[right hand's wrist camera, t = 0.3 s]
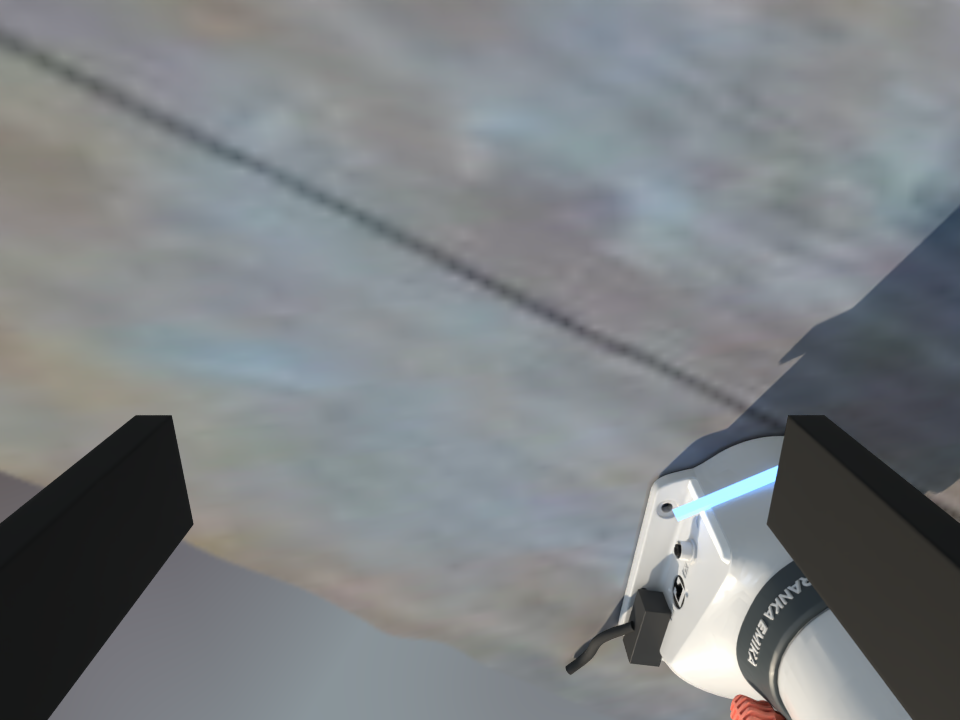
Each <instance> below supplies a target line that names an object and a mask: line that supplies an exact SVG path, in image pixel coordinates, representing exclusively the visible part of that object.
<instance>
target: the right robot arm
mask: <svg viewBox="0 0 960 720" xmlns="http://www.w3.org/2000/svg"><path fill="white" fill-rule="evenodd" d="M192 526H193V519H192V514H191V509H190V504H189V499H188V494H187V489H186V484H185V479H184V474H183V469H182V464H181V459H180V454H179V449H178V444H177V439H176V434H175V429H174V424H173V419H172V415H136V416H134V417H133V418H132V419H131V420H129V421H128V422H127V423H126V424H124V425H123V426H122V427H121V428H119V429H118V430H117V431H116V432H114V433H113V434H112V435H111V436H109V437H108V438H107V439H105V440H104V441H103V442H102V443H100V444H99V445H98V446H97V447H95V448H94V449H93V450H92V451H90V452H89V453H88V454H87V455H85V456H84V457H83V458H82V459H80V460H79V461H78V462H77V463H75V464H74V465H73V466H72V467H70V468H69V469H68V470H67V471H65V472H64V473H63V474H62V475H60V476H59V477H58V478H57V479H55V480H54V481H53V482H52V483H50V484H49V485H48V486H47V487H45V488H44V489H43V490H42V491H40V492H39V493H38V494H37V495H35V496H34V497H33V498H32V499H30V500H29V501H28V502H27V503H25V504H24V505H23V506H22V507H20V508H19V509H18V510H17V511H15V512H14V513H13V514H12V515H10V516H9V517H8V518H7V519H5V520H4V521H3V522H1V523H0V720H48V718H49V717H50V716H51V714H52V713H53V712H54V710H55V709H56V708H57V706H58V705H59V704H60V702H61V701H62V700H63V698H64V697H65V696H66V694H67V693H68V692H69V690H70V689H71V688H72V686H73V685H74V684H75V682H76V681H77V680H78V678H79V677H80V676H81V674H82V673H83V672H84V670H85V669H86V668H87V666H88V665H89V664H90V662H91V661H92V660H93V658H94V657H95V656H96V654H97V653H98V652H99V650H100V649H101V647H102V646H103V645H104V643H105V642H106V641H107V639H108V638H109V637H110V635H111V634H112V633H113V631H114V630H115V629H116V627H117V626H118V625H119V623H120V622H121V621H122V619H123V618H124V617H125V615H126V614H127V613H128V611H129V610H130V609H131V607H132V606H133V605H134V603H135V602H136V601H137V599H138V598H139V597H140V595H141V594H142V593H143V591H144V590H145V589H146V587H147V586H148V585H149V583H150V582H151V581H152V579H153V578H154V577H155V575H156V574H157V572H158V571H159V570H160V569H161V567H162V566H163V564H164V563H165V562H166V560H167V559H168V558H169V556H170V555H171V554H172V552H173V551H174V550H175V548H176V547H177V546H178V544H179V543H180V542H181V540H182V539H183V538H184V536H185V535H186V534H187V532H188V531H189V530H190V528H191V527H192ZM767 526H768V527H769V528H770V530H771V531H772V532H773V534H774V535H775V536H776V538H777V539H778V540H779V542H780V543H781V544H782V546H783V547H784V548H785V550H786V551H787V552H788V554H789V555H790V556H791V558H792V559H793V560H794V562H795V563H796V564H797V566H798V567H799V569H800V570H801V571H802V573H803V574H804V575H805V577H806V578H807V579H808V581H809V582H810V583H811V585H812V586H813V587H814V589H815V590H816V591H817V593H818V594H819V595H820V597H821V598H822V599H823V601H824V602H825V603H826V605H827V606H828V607H829V609H830V610H831V611H832V613H833V614H834V615H835V617H836V618H837V619H838V621H839V622H840V623H841V625H842V626H843V627H844V629H845V630H846V631H847V633H848V634H849V635H850V637H851V638H852V639H853V641H854V642H855V644H856V645H857V646H858V648H859V649H860V650H861V652H862V653H863V654H864V656H865V657H866V658H867V660H868V661H869V662H870V664H871V665H872V666H873V668H874V669H875V670H876V672H877V673H878V674H879V676H880V677H881V678H882V680H883V681H884V682H885V684H886V685H887V686H888V688H889V689H890V690H891V692H892V693H893V694H894V696H895V697H896V698H897V700H898V701H899V702H900V704H901V705H902V706H903V708H904V709H905V710H906V712H907V713H908V714H909V716H910V717H911V719H912V720H960V523H959V522H957V521H956V520H955V519H954V518H952V517H951V516H950V515H948V514H947V513H946V512H945V511H943V510H942V509H941V508H940V507H938V506H937V505H936V504H935V503H933V502H932V501H931V500H930V499H928V498H927V497H926V496H925V495H923V494H922V493H921V492H920V491H918V490H917V489H916V488H915V487H913V486H912V485H911V484H910V483H908V482H907V481H906V480H905V479H903V478H902V477H901V476H900V475H898V474H897V473H896V472H895V471H893V470H892V469H891V468H890V467H888V466H887V465H886V464H885V463H883V462H882V461H881V460H880V459H878V458H877V457H876V456H875V455H873V454H872V453H871V452H870V451H868V450H867V449H866V448H865V447H863V446H862V445H861V444H860V443H858V442H857V441H856V440H855V439H853V438H852V437H851V436H849V435H848V434H847V433H846V432H844V431H843V430H842V429H841V428H839V427H838V426H837V425H836V424H834V423H833V422H832V421H831V420H829V419H828V418H827V417H826V416H824V415H788V419H787V424H786V429H785V434H784V439H783V444H782V449H781V454H780V459H779V464H778V469H777V474H776V479H775V484H774V489H773V494H772V499H771V504H770V509H769V514H768V519H767Z"/></svg>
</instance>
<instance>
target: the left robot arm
mask: <svg viewBox="0 0 960 720" xmlns="http://www.w3.org/2000/svg"><path fill="white" fill-rule="evenodd" d="M783 439H784V436H770V437H762V438H757V439H752V440H749V441H745V442H742V443H739V444H737V445H734V446H732V447H730V448H728V449H726V450H724V451H722V452H720V453H718V454H717V455H715V456H713V457H712V458H710V459H709V460H707V461H706V462H704V463H702V464H700V465H699V466H697V467H694V468H692V469H687V470H683V471H678V472H674V473H671V474H668V475H665V476H663V477H660V478H659V479H657V480H656V481H655V482H654V484H653V485H652V488H651V491H650V495H649V499H648V503H647V507H646V511H645V515H644V519H643V523H642V527H641V531H640V535H639V539H638V544H637V548H636V552H635V556H634V560H633V564H632V568H631V572H630V576H629V580H628V584H627V588H626V592H625V596H624V600H623V604H622V608H621V612H620V616H619V623H618V624H619V626H616V627H613V628H610V629H608V630H606V631H604V632H602V633H600V634H599V635H597V636H596V637H595V638H594V639H593V640H592V641H591V643H590V644H589V646H588V648H587V649H586V651H585V652H584V653H583V654H582V655H581V656H579V657H578V658H577V659H575V660H574V661H573V662H571V663H570V664H568V665H567V666H566V671H567V672H568V673H569V674H570V675H571V674H573V673H574V672H575V671H577V670H578V669H580V668H581V667H582V666H584V665H585V664H586V663H587V662H589V661H590V660H591V659H592V658H593V657H594V655H595V654H596V652H597V650H598V649H599V647H600V646H601V645H602V644H603V643H605V642H607V641H609V640H611V639H613V638H616V637H619V636H622V635H624V637H623V642H624V645H625V649H626V652H627V656H628V659H629V663H631V664H640V665H649V666H658V667H659V665H660V662H661V660H662V661H665V662H666V664H667V665H668V666H669V667H670V669H671V670H672V671H673V672H674V673H675V674H676V675H678V676H679V677H680V678H681V679H683V680H684V681H686V682H687V683H689V684H691V685H693V686H695V687H697V688H699V689H702V690H704V691H706V692H709V693H712V694H715V695H718V696H722V697H726V698H730V699H733V701H732V704H731V710H732V712H731V719H733V720H912V719H911V717H910V716H909V714H908V713H907V712H906V710H905V709H904V708H903V706H902V705H901V704H900V702H899V701H898V700H897V698H896V697H895V696H894V694H893V693H892V692H891V690H890V689H889V688H888V686H887V685H886V684H885V682H884V681H883V680H882V678H881V677H880V676H879V674H878V673H877V672H876V670H875V669H874V668H873V666H872V665H871V664H870V662H869V661H868V660H867V658H866V657H865V656H864V654H863V653H862V652H861V650H860V649H859V648H858V646H857V645H856V644H855V642H854V641H853V639H852V638H851V637H850V635H849V634H848V633H847V631H846V630H845V629H844V627H843V626H842V625H841V623H840V622H839V621H838V619H837V618H836V617H835V615H834V614H833V613H832V611H831V610H830V609H829V607H828V606H827V605H826V603H825V602H824V601H823V599H822V598H821V597H820V595H819V594H818V593H817V591H816V590H815V589H814V587H813V586H812V585H811V583H810V582H809V581H808V579H807V578H806V577H805V575H804V574H803V573H802V571H801V570H800V569H799V567H798V566H797V564H796V563H795V562H794V560H793V559H792V558H791V556H790V555H789V554H788V552H787V551H786V550H785V548H784V547H783V546H782V544H781V543H780V542H779V540H778V539H777V538H776V536H775V535H774V534H773V532H772V531H771V530H770V528H769V527H768V526H767V519H768V514H769V509H770V504H771V499H772V494H773V489H774V484H775V479H776V474H777V469H778V464H779V459H780V454H781V449H782V444H783ZM665 503H670V504H669V505H668V506H666V507H662V505H663V504H665ZM771 705H772V706H773V707H774V708H775V709H777V711H774V709H773V707H772V706H771Z"/></svg>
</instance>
